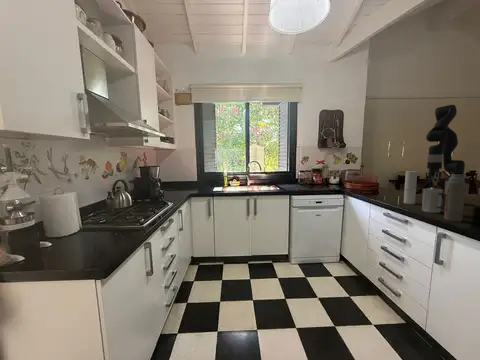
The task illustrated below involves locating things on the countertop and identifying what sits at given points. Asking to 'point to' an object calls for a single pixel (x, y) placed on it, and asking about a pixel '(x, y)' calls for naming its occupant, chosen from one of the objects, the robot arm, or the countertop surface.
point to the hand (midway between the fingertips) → (432, 187)
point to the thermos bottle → (455, 197)
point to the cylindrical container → (410, 187)
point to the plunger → (434, 184)
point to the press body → (433, 200)
